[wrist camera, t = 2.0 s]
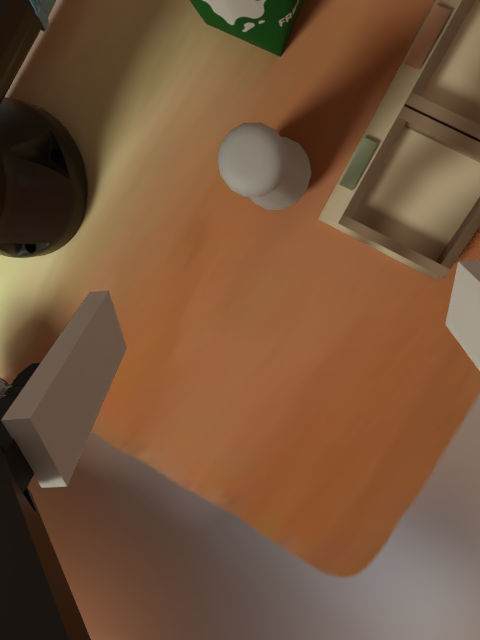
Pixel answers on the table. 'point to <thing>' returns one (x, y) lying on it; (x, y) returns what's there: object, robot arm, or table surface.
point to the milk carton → (252, 20)
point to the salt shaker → (264, 166)
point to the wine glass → (3, 387)
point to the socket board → (421, 151)
